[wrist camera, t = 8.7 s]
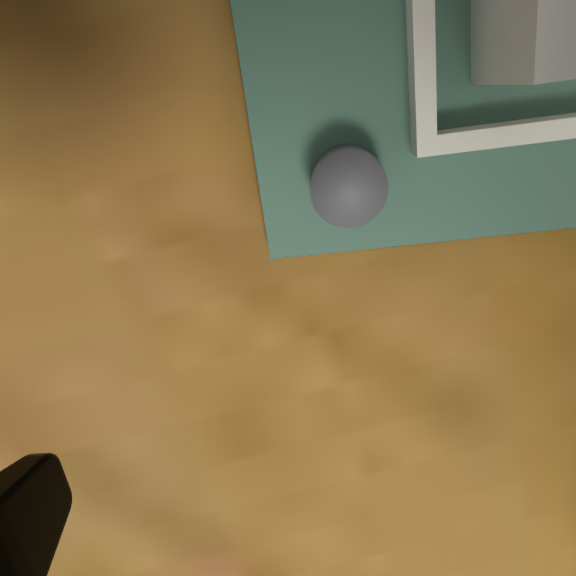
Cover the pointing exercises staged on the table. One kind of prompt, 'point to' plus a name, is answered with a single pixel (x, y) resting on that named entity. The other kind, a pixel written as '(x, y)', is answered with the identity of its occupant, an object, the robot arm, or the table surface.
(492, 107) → the board
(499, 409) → the table surface
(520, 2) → the plug
